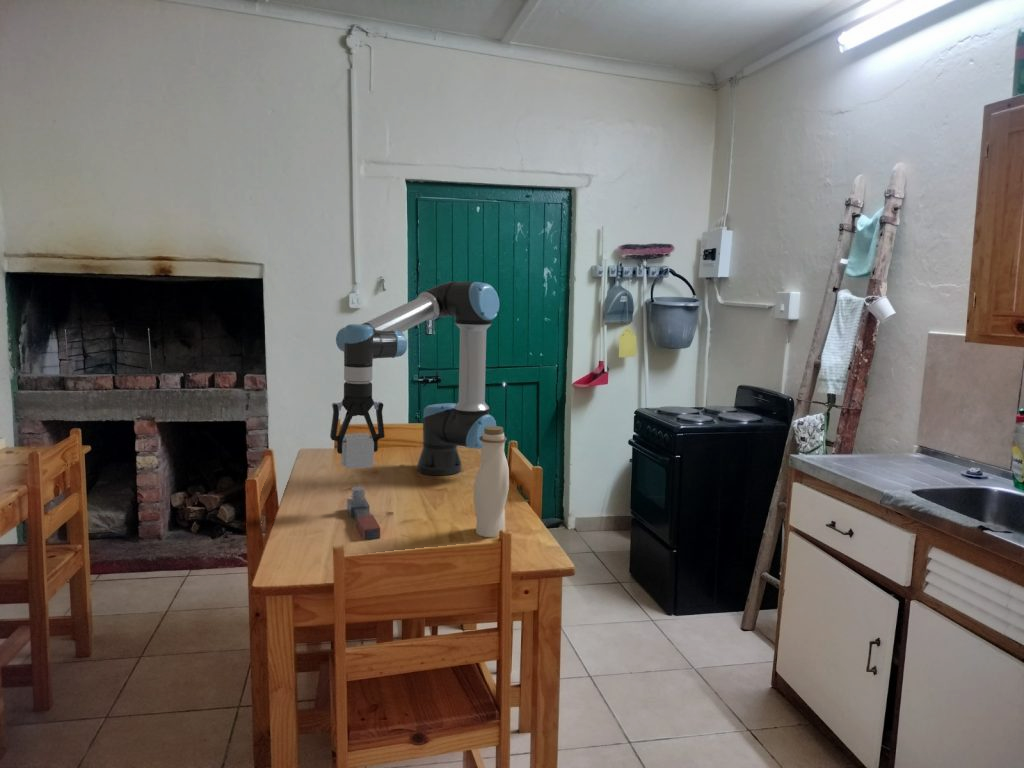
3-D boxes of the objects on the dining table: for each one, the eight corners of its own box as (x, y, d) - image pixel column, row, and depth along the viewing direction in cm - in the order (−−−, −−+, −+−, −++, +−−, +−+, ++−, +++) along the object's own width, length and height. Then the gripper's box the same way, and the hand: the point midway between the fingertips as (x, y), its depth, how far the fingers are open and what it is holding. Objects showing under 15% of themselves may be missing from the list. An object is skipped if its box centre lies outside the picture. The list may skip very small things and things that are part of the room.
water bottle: (472, 524, 184) (475, 422, 180) (505, 524, 185) (508, 423, 180) (473, 538, 174) (476, 431, 169) (508, 538, 174) (512, 432, 170)
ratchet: (364, 507, 194) (364, 484, 193) (381, 538, 172) (381, 511, 171) (347, 509, 192) (346, 485, 191) (361, 540, 170) (361, 513, 169)
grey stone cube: (367, 460, 192) (368, 433, 191) (372, 467, 185) (372, 438, 184) (342, 462, 189) (342, 434, 188) (346, 468, 183) (346, 439, 181)
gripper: (391, 379, 191) (390, 458, 194) (318, 380, 184) (318, 462, 187) (397, 383, 184) (396, 465, 187) (321, 384, 177) (321, 469, 180)
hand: (357, 463), depth 187 cm, fingers closed on grey stone cube, 7 cm apart
